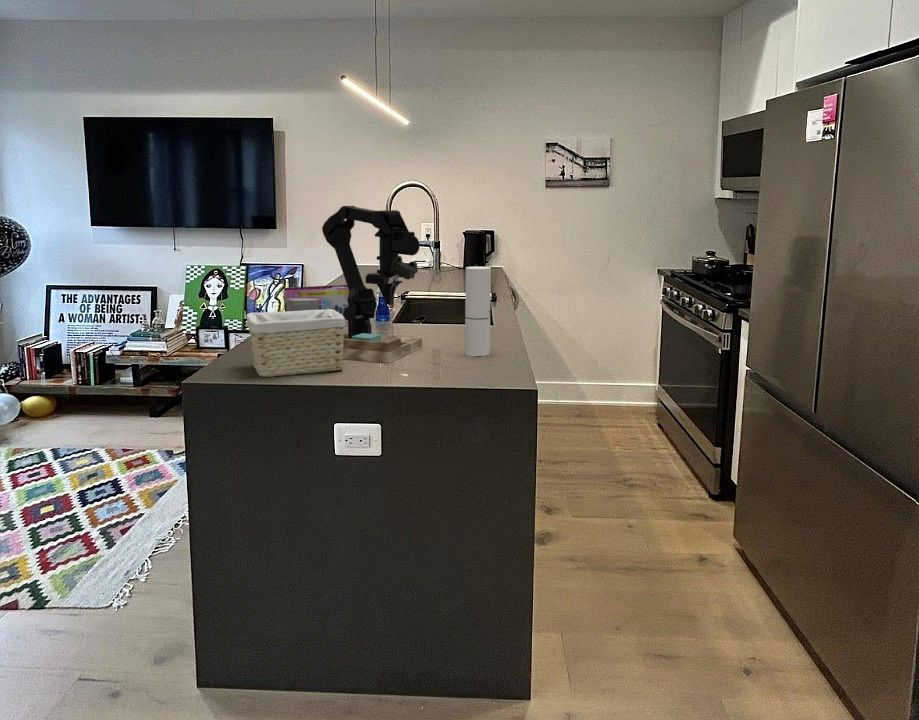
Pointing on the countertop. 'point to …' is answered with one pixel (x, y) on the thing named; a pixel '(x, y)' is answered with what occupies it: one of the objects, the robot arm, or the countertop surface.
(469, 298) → the cylindrical container
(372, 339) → the block
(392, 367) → the countertop surface
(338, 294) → the gum box
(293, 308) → the skincare box
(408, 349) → the wooden tray
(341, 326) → the storage basket
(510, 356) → the countertop surface
